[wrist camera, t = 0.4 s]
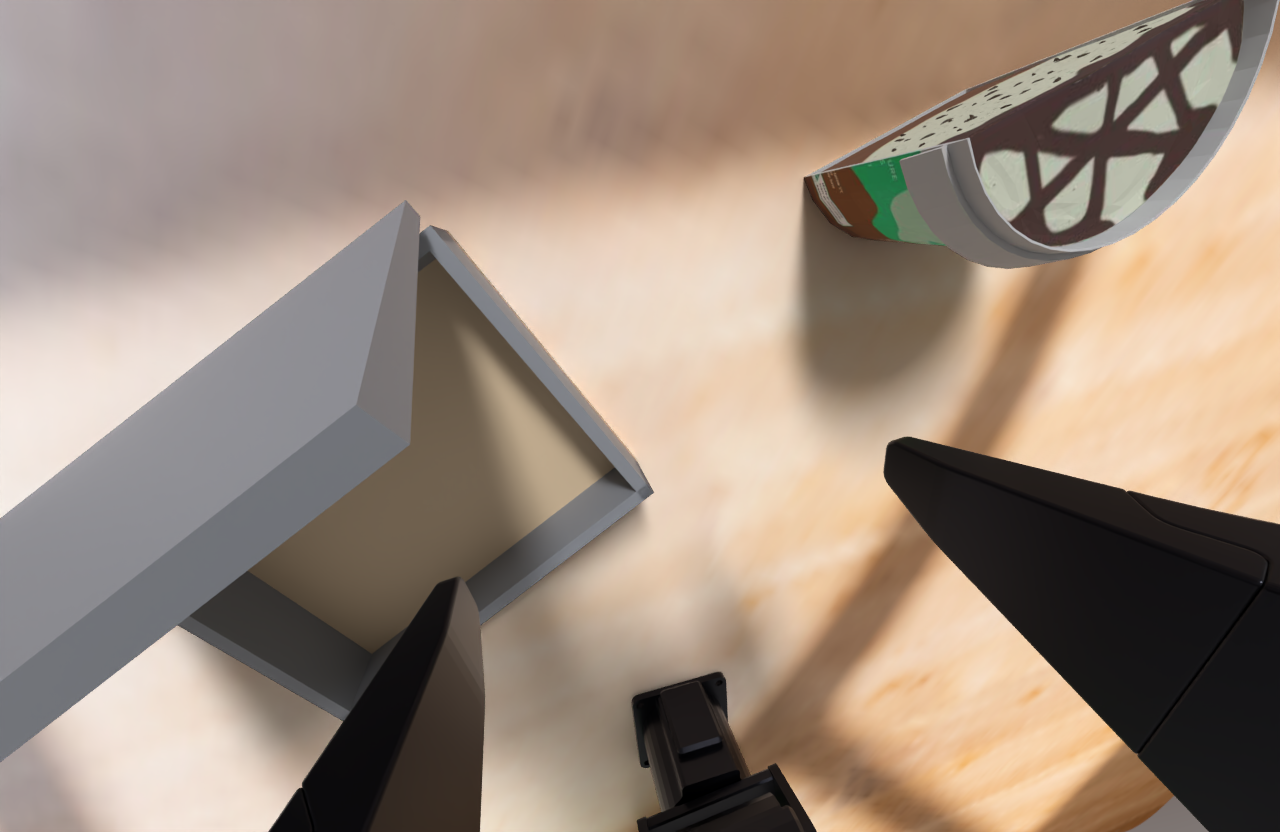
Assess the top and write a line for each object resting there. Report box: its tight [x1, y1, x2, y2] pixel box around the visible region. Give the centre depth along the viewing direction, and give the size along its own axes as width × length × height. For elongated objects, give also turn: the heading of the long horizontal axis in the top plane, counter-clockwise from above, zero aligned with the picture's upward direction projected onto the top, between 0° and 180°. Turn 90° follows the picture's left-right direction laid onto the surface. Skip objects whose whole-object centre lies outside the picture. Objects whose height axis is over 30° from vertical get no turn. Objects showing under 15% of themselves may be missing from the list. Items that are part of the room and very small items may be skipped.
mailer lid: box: [0, 200, 420, 762], centre depth 10 cm, size 14×18×1 cm
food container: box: [804, 0, 1279, 269], centre depth 19 cm, size 12×6×10 cm, turn 117°
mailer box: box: [178, 225, 654, 721], centre depth 21 cm, size 14×18×4 cm
